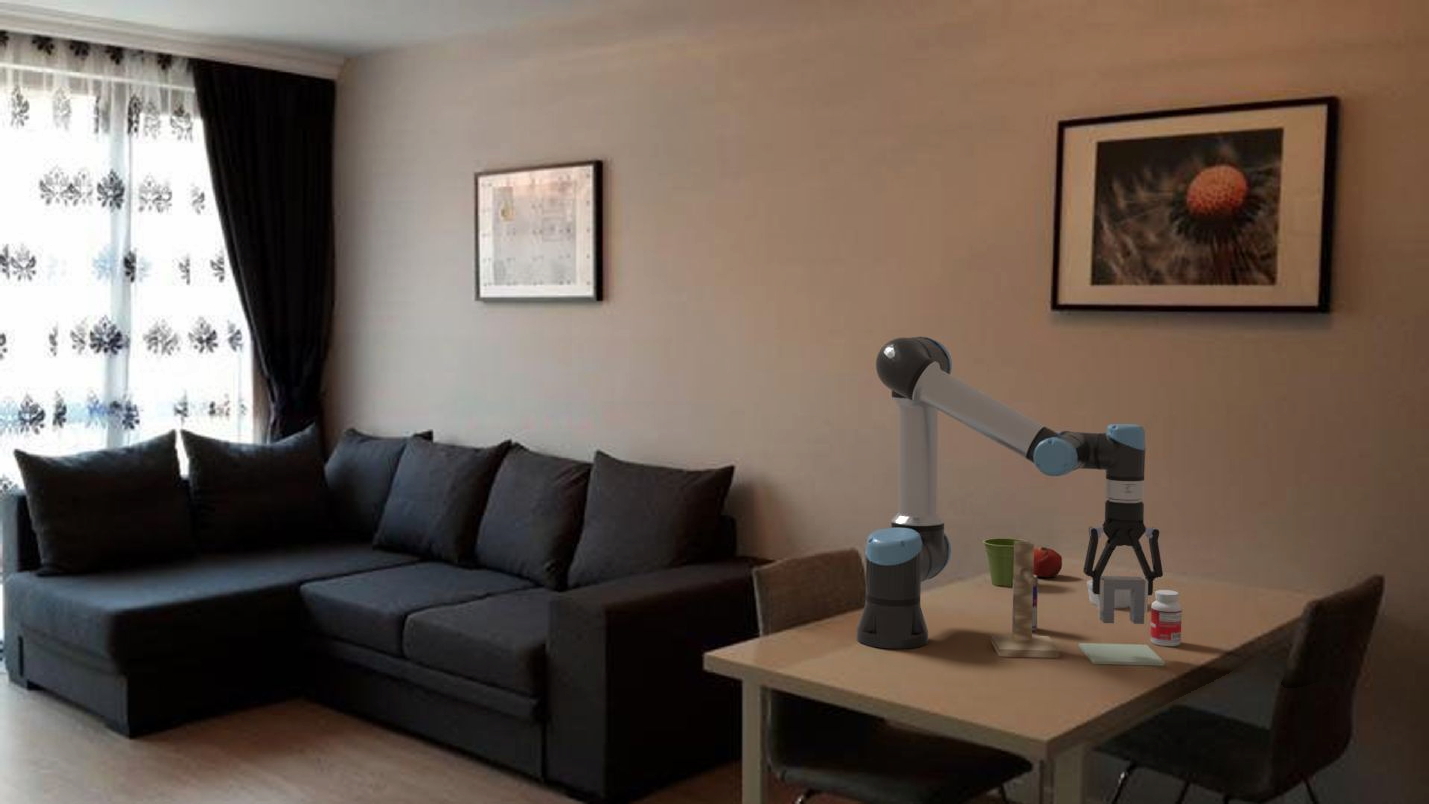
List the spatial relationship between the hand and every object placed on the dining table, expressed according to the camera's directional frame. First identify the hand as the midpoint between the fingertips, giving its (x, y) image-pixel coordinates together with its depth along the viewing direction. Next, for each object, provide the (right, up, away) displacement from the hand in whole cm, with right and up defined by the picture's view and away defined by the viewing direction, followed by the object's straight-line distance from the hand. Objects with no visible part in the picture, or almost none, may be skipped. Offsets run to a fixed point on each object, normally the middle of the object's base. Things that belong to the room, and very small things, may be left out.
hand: (1121, 610), depth 261 cm
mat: (0, -9, +1) cm, 9 cm away
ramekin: (+13, -7, +48) cm, 50 cm away
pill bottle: (+13, -9, +11) cm, 19 cm away
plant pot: (-8, -5, +70) cm, 71 cm away
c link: (0, -2, 0) cm, 2 cm away
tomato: (+5, -4, +80) cm, 81 cm away
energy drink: (-14, -8, +23) cm, 28 cm away
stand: (-19, -9, +4) cm, 21 cm away
